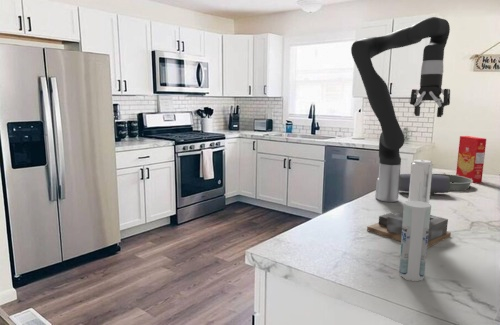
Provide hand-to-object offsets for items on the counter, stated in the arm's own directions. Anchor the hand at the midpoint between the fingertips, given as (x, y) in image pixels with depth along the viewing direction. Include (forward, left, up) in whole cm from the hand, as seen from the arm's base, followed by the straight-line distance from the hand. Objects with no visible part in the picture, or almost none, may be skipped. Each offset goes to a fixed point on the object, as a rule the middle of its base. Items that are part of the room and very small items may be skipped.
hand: (428, 116), depth 143 cm
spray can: (+25, -51, -40) cm, 70 cm away
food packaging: (-18, +89, -40) cm, 99 cm away
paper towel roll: (+10, -22, -39) cm, 46 cm away
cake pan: (-19, +64, -41) cm, 78 cm away
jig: (+8, -22, -40) cm, 46 cm away
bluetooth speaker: (-18, +36, -40) cm, 57 cm away
